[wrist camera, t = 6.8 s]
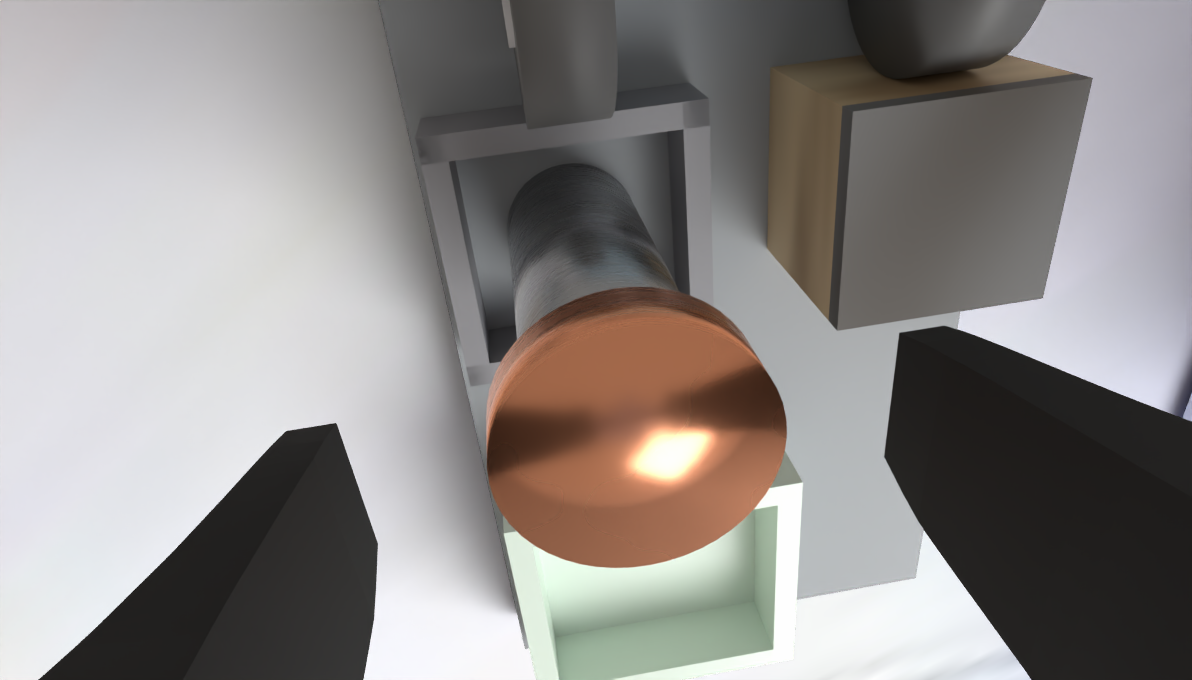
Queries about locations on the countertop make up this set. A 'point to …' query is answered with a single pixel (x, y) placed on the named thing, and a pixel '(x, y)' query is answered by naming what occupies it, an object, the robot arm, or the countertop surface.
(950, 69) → the trolley
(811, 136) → the wooden cube
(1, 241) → the countertop surface
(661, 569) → the tray
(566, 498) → the pin
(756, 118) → the ramp board
